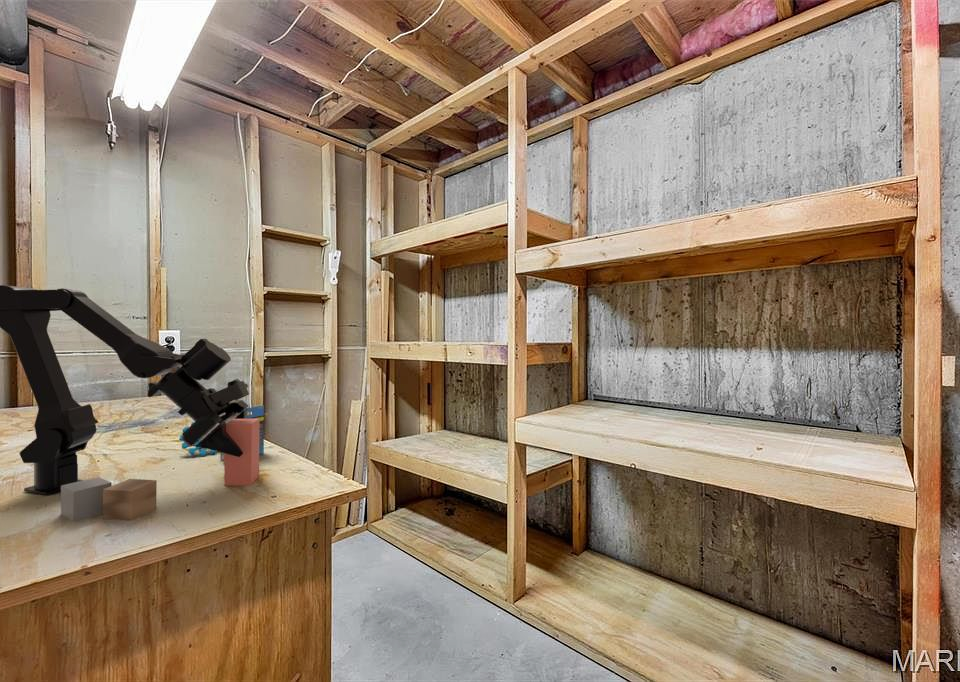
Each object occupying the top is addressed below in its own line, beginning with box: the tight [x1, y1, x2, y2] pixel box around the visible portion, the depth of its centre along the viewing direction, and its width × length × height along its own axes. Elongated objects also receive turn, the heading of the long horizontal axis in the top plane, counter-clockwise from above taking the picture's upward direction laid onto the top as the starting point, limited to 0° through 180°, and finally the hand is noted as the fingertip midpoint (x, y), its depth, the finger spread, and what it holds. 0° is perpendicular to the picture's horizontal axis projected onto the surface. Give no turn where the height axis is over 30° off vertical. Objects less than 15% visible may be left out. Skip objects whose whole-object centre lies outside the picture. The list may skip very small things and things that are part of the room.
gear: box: [178, 421, 217, 457], centre depth 108 cm, size 11×6×10 cm
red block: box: [223, 419, 260, 487], centre depth 89 cm, size 5×5×12 cm
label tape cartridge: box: [219, 405, 265, 462], centre depth 104 cm, size 9×4×12 cm, turn 152°
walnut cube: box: [102, 478, 158, 521], centre depth 73 cm, size 5×5×5 cm
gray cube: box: [60, 476, 113, 523], centre depth 73 cm, size 5×5×5 cm
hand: (249, 448), depth 89 cm, fingers open, 9 cm apart
